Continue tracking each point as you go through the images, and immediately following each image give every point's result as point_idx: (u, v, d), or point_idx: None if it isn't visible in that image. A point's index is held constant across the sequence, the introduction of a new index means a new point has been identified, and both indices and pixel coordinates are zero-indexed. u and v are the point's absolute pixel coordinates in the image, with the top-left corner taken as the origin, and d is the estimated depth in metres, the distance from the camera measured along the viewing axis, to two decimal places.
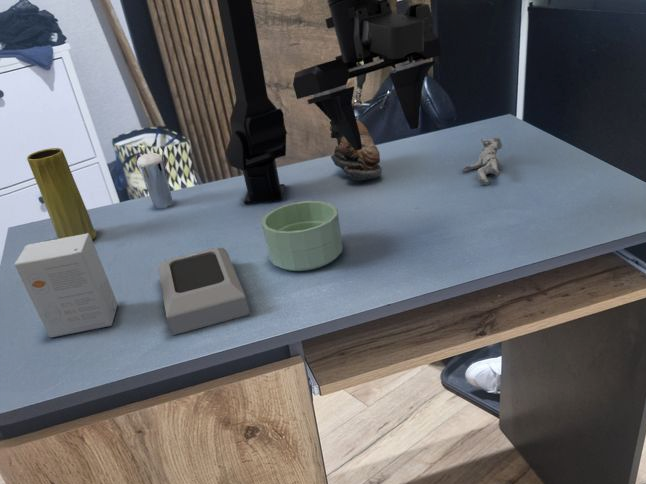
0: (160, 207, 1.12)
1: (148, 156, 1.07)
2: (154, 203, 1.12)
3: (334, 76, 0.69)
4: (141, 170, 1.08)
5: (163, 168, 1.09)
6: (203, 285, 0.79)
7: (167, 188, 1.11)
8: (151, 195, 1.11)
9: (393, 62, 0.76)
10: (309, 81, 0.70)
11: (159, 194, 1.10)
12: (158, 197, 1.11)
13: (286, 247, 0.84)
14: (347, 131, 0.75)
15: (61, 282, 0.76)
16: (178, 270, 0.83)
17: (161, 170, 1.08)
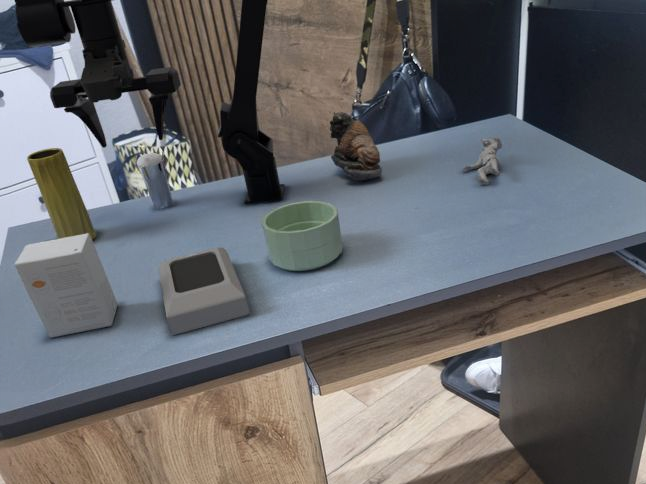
0: (160, 207, 1.12)
1: (148, 156, 1.07)
2: (154, 203, 1.12)
3: (62, 99, 0.96)
4: (141, 170, 1.08)
5: (163, 168, 1.09)
6: (203, 285, 0.79)
7: (167, 188, 1.11)
8: (151, 195, 1.11)
9: (137, 88, 0.98)
10: None
11: (159, 194, 1.10)
12: (158, 197, 1.11)
13: (286, 247, 0.84)
14: None
15: (61, 283, 0.76)
16: (178, 270, 0.83)
17: (161, 170, 1.08)
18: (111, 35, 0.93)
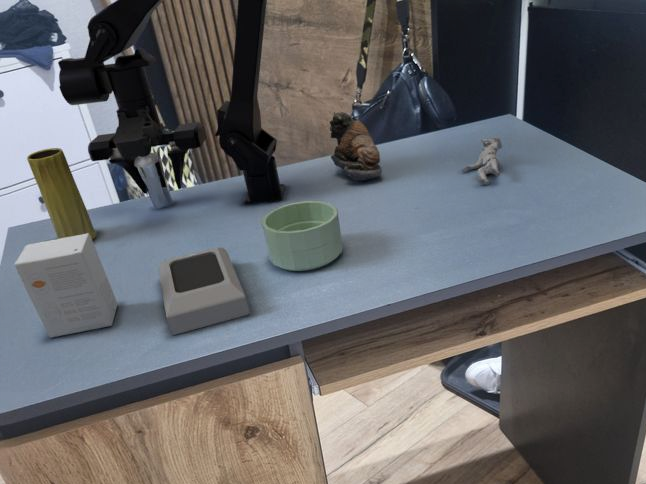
0: (160, 206, 1.12)
1: None
2: (154, 203, 1.12)
3: (98, 153, 1.05)
4: (138, 170, 1.08)
5: (160, 167, 1.09)
6: (203, 285, 0.79)
7: (165, 187, 1.11)
8: (150, 195, 1.11)
9: (166, 142, 1.06)
10: None
11: (158, 194, 1.10)
12: (157, 197, 1.10)
13: (286, 247, 0.84)
14: None
15: (61, 283, 0.76)
16: (178, 270, 0.83)
17: (158, 169, 1.08)
18: (141, 97, 1.01)
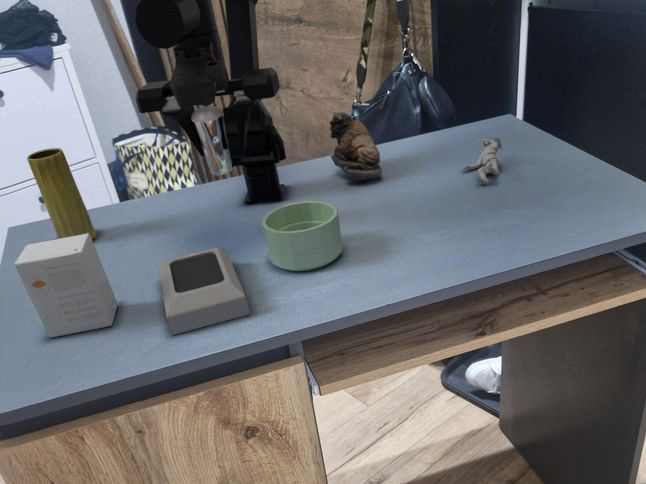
0: (218, 173, 0.92)
1: (205, 109, 0.88)
2: (211, 169, 0.92)
3: (148, 103, 0.85)
4: (196, 127, 0.88)
5: (223, 124, 0.89)
6: (203, 285, 0.79)
7: (227, 149, 0.91)
8: (208, 158, 0.91)
9: (232, 92, 0.86)
10: None
11: (218, 157, 0.90)
12: (216, 161, 0.91)
13: (286, 247, 0.84)
14: None
15: (61, 283, 0.76)
16: (178, 270, 0.83)
17: (220, 126, 0.88)
18: None
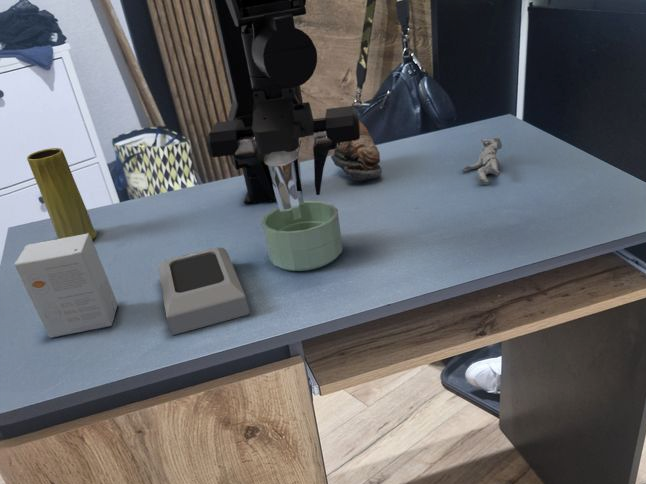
0: (291, 218, 0.85)
1: (280, 151, 0.81)
2: (283, 213, 0.85)
3: (221, 147, 0.78)
4: (270, 170, 0.81)
5: (298, 167, 0.82)
6: (203, 285, 0.79)
7: (301, 193, 0.84)
8: (280, 203, 0.84)
9: None
10: None
11: (291, 202, 0.83)
12: (290, 205, 0.84)
13: (286, 247, 0.84)
14: None
15: (61, 283, 0.76)
16: (178, 270, 0.83)
17: (296, 169, 0.81)
18: None
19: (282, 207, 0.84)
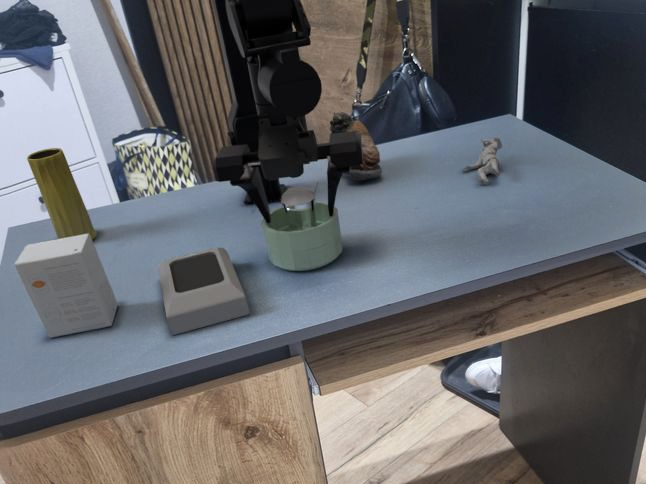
0: None
1: (297, 192, 0.84)
2: None
3: (227, 171, 0.80)
4: (287, 209, 0.84)
5: (314, 207, 0.85)
6: (202, 285, 0.79)
7: None
8: None
9: None
10: None
11: None
12: None
13: (286, 247, 0.84)
14: None
15: (61, 283, 0.76)
16: (178, 270, 0.83)
17: (311, 210, 0.84)
18: None
19: None
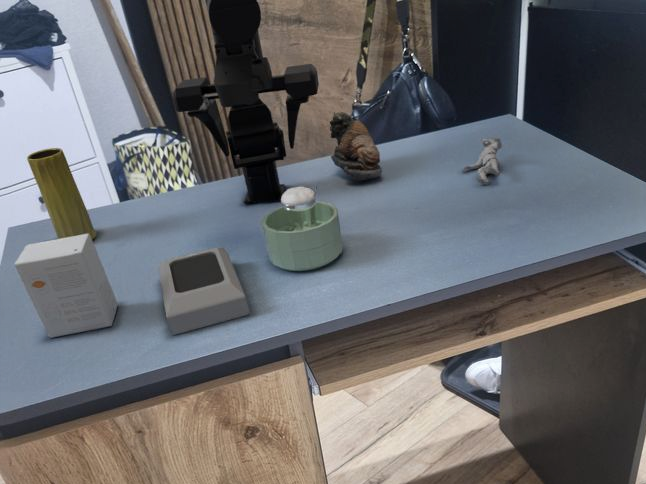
0: None
1: (297, 192, 0.84)
2: None
3: (187, 101, 0.83)
4: (287, 209, 0.84)
5: (314, 207, 0.85)
6: (203, 285, 0.79)
7: None
8: None
9: (271, 89, 0.84)
10: None
11: None
12: None
13: (286, 247, 0.84)
14: None
15: (61, 283, 0.76)
16: (178, 270, 0.83)
17: (311, 210, 0.84)
18: None
19: None
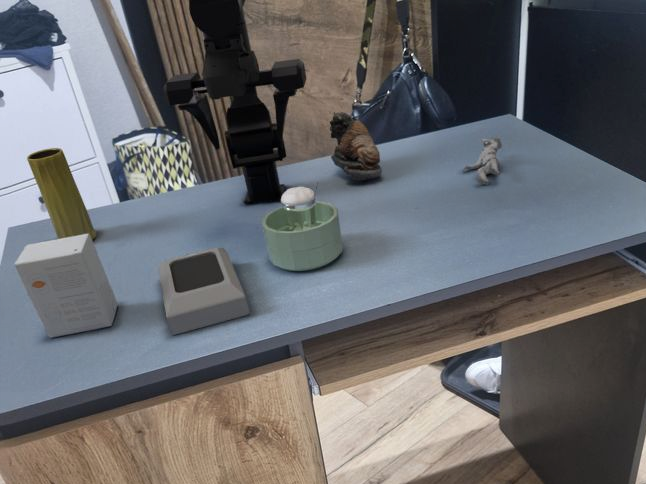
0: None
1: (297, 192, 0.84)
2: None
3: (177, 95, 0.85)
4: (287, 209, 0.84)
5: (314, 207, 0.85)
6: (203, 285, 0.79)
7: None
8: None
9: (260, 83, 0.87)
10: None
11: None
12: None
13: (286, 247, 0.84)
14: None
15: (61, 283, 0.76)
16: (178, 270, 0.83)
17: (311, 210, 0.84)
18: None
19: None
